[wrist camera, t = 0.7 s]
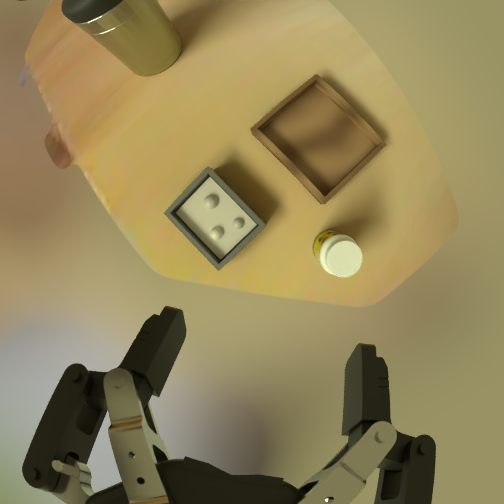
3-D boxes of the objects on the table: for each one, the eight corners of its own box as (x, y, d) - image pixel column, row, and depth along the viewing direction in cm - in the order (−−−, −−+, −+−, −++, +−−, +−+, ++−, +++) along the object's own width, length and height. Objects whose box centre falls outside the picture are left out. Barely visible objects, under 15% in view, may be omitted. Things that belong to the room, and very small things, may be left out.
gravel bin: (173, 212, 36) (163, 213, 33) (213, 169, 35) (207, 166, 31) (223, 264, 37) (218, 271, 33) (266, 223, 35) (266, 225, 32)
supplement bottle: (341, 225, 35) (361, 231, 27) (349, 258, 36) (370, 273, 27) (307, 235, 35) (318, 244, 27) (316, 268, 36) (329, 286, 28)
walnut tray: (251, 133, 34) (250, 128, 31) (313, 81, 32) (316, 73, 29) (320, 204, 35) (324, 204, 32) (379, 148, 33) (386, 144, 30)
